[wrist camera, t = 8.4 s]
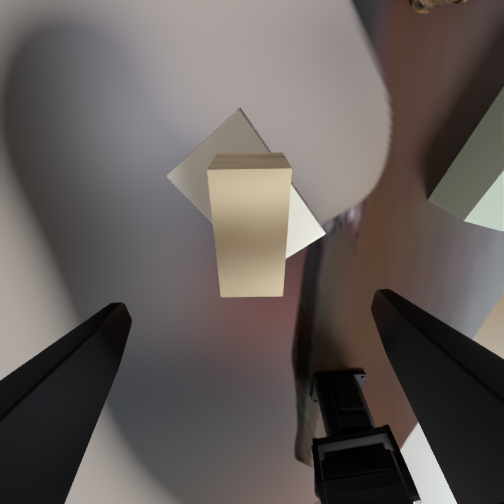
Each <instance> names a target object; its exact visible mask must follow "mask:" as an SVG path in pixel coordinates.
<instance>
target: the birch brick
mask: <svg viewBox="0 0 504 504" xmlns="http://www.w3.org/2000/svg"><path fill="white" fill-rule="evenodd" d="M207 176H208V185H209V194H210V203H211V213H212V222H213V231H214V240H215V249H216V258H217V267H218V277H219V286H220V294H221V297H274V296H276V297H277V296H283V287H284V274H285V273H284V272H285V260H286V246H287V232H288V218H289V205H290V191H291V177H292V167H291V166H290V164H289V163H288V161H287V159H286V158H285V156H284V154H283V153H228V154H216V156H215V157H214V159H213V161H212V162H211V164H210V165H209V167H208V169H207Z"/></svg>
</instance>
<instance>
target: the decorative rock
mask: <svg viewBox="0 0 504 504" xmlns="http://www.w3.org/2000/svg"><path fill="white" fill-rule="evenodd" d="M453 1H455V3H456V4H460V3H464V2H466V1H467V0H411V8H412V9H413V10H415V11H416V12H418V13H428V12H429V11H430V10H431V9H432V8H436V7H439V6H442V5H445V4H448V3H451V2H453Z"/></svg>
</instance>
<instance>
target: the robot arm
mask: <svg viewBox="0 0 504 504" xmlns="http://www.w3.org/2000/svg"><path fill="white" fill-rule="evenodd" d="M371 311H372V315H373V318H374V321H375V323H376V326H377V329H378V332H379V335H380V338H381V341H382V344H383V346H384V349H385V352H386V354H387V356H388V359H389V361H390V363H391V365H392V367H393V369H394V371H395V373H396V376H397V378H398V380H399V382H400V384H401V386H402V388H403V390H404V392H405V394H406V397H407V399H408V401H409V403H410V405H411V407H412V409H413V411H414V413H415V416H416V418H417V420H418V422H419V424H420V426H421V428H422V430H423V432H424V434H425V436H426V438H427V441H428V443H429V445H430V447H431V449H432V451H433V453H434V455H435V458H436V460H437V462H438V464H439V466H440V468H441V470H442V472H443V474H444V477H445V479H446V481H447V483H448V485H449V487H450V489H451V491H452V493H453V495H454V498H455V500H456V502H457V504H504V359H502V358H501V357H500V356H498V355H496V354H495V353H493V352H491V351H489V350H488V349H486V348H485V347H483V346H482V345H480V344H478V343H477V342H475V341H473V340H472V339H470V338H469V337H467V336H465V335H464V334H462V333H460V332H459V331H457V330H455V329H454V328H452V327H451V326H449V325H447V324H446V323H444V322H442V321H441V320H439V319H438V318H436V317H434V316H433V315H431V314H429V313H428V312H426V311H424V310H423V309H421V308H420V307H418V306H416V305H415V304H413V303H411V302H410V301H408V300H406V299H405V298H403V297H402V296H400V295H398V294H397V293H395V292H393V291H392V290H390V289H378V290H376V292H375V295H374V298H373V302H372V305H371ZM131 324H132V319H131V316H130V315H129V312H128V310H127V308H126V306H125V304H124V303H122V302H117V303H110V304H109V305H107V306H106V307H104V308H103V309H102V310H100V311H99V312H97V313H96V314H94V315H93V316H92V317H90V318H89V319H87V320H86V321H85V322H83V323H82V324H80V325H79V326H77V327H76V328H75V329H73V330H72V331H70V332H69V333H67V334H66V335H65V336H63V337H62V338H60V339H59V340H57V341H56V342H55V343H53V344H52V345H50V346H49V347H48V348H46V349H45V350H43V351H42V352H40V353H39V354H38V355H36V356H35V357H33V358H32V359H30V360H29V361H27V362H26V363H25V364H23V365H22V366H21V367H19V368H17V369H16V370H15V371H13V372H12V373H10V374H9V375H7V376H6V377H5V378H3V379H2V380H0V504H64V503H65V501H66V498H67V496H68V493H69V491H70V488H71V486H72V483H73V481H74V478H75V476H76V473H77V471H78V468H79V466H80V463H81V461H82V458H83V456H84V453H85V451H86V448H87V446H88V443H89V441H90V438H91V436H92V433H93V431H94V428H95V426H96V423H97V421H98V418H99V416H100V413H101V411H102V408H103V406H104V403H105V401H106V398H107V396H108V393H109V391H110V388H111V386H112V383H113V381H114V378H115V376H116V373H117V371H118V368H119V365H120V362H121V359H122V356H123V352H124V349H125V345H126V342H127V338H128V335H129V331H130V328H131ZM366 377H367V376H366V373H365V372H363V371H360V372H335V373H317V374H315V375H314V382H313V389H312V397H311V399H312V402H314V403H319V406H320V410H321V414H322V419H323V423H324V428H325V432H326V437H324V438H318V439H317V438H313V439H312V440H313V445H312V446H311V447H312V453H313V460H314V485H315V494H316V497H317V498H319V500H320V501H321V504H422V502H421V499H420V497H419V494H418V492H417V489H416V487H415V484H414V482H413V479H412V477H411V474H410V472H409V470H408V468H407V465H406V463H405V461H404V458H403V456H402V454H401V452H400V449H399V447H398V445H397V443H396V440H395V438H394V436H393V434H392V431H391V429H390V427H389V425H383V427H377V428H376V426H375V424H374V421H373V418H372V416H371V413H370V411H369V408H368V405H367V403H366V400H365V397H364V395H363V392H362V389H363V386H364V383H365V380H366ZM390 449H392V450H390Z"/></svg>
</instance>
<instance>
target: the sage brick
mask: <svg viewBox="0 0 504 504" xmlns="http://www.w3.org/2000/svg"><path fill="white" fill-rule="evenodd" d="M428 201H430V202H431V203H433V204H435V205H437V206H438V207H440V208H442V209H444V210H445V211H447V212H449V213H451V214H452V215H454V216H456V217H458V218H459V219H461V220H463V221H466V222H470V223H473V224H477V225H481V226H484V227H488V228H492V229H495V230H499V231H503V232H504V87H503V89H502V90H501V92H500V93H499V95H498V96H497V97H496V99H495V100H494V102H493V103H492V105H491V106H490V108H489V109H488V111H487V112H486V114H485V115H484V117H483V118H482V120H481V121H480V123H479V124H478V126H477V127H476V129H475V130H474V132H473V133H472V135H471V136H470V138H469V139H468V141H467V142H466V144H465V145H464V147H463V148H462V150H461V151H460V153H459V154H458V155H457V157H456V158H455V160H454V161H453V163H452V164H451V166H450V167H449V169H448V170H447V172H446V173H445V175H444V176H443V178H442V179H441V181H440V182H439V184H438V185H437V187H436V188H435V190H434V191H433V193H432V194H431V196H430V197H429V199H428Z"/></svg>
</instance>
